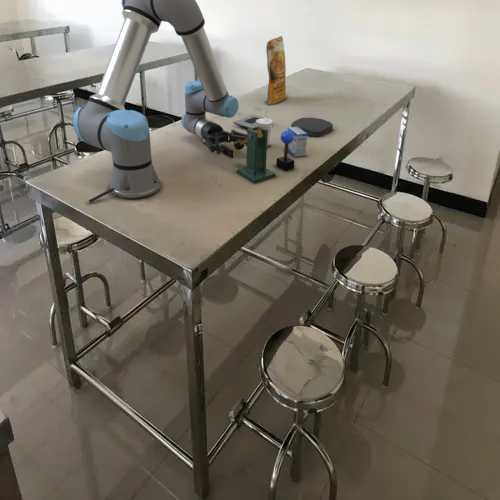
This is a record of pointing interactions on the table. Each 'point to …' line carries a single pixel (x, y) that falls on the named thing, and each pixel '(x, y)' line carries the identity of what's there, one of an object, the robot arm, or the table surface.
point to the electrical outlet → (248, 121)
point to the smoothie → (265, 125)
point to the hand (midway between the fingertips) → (245, 151)
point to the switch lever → (245, 141)
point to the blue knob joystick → (285, 153)
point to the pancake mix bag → (276, 70)
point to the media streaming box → (313, 126)
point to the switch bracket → (256, 157)
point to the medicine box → (298, 142)
